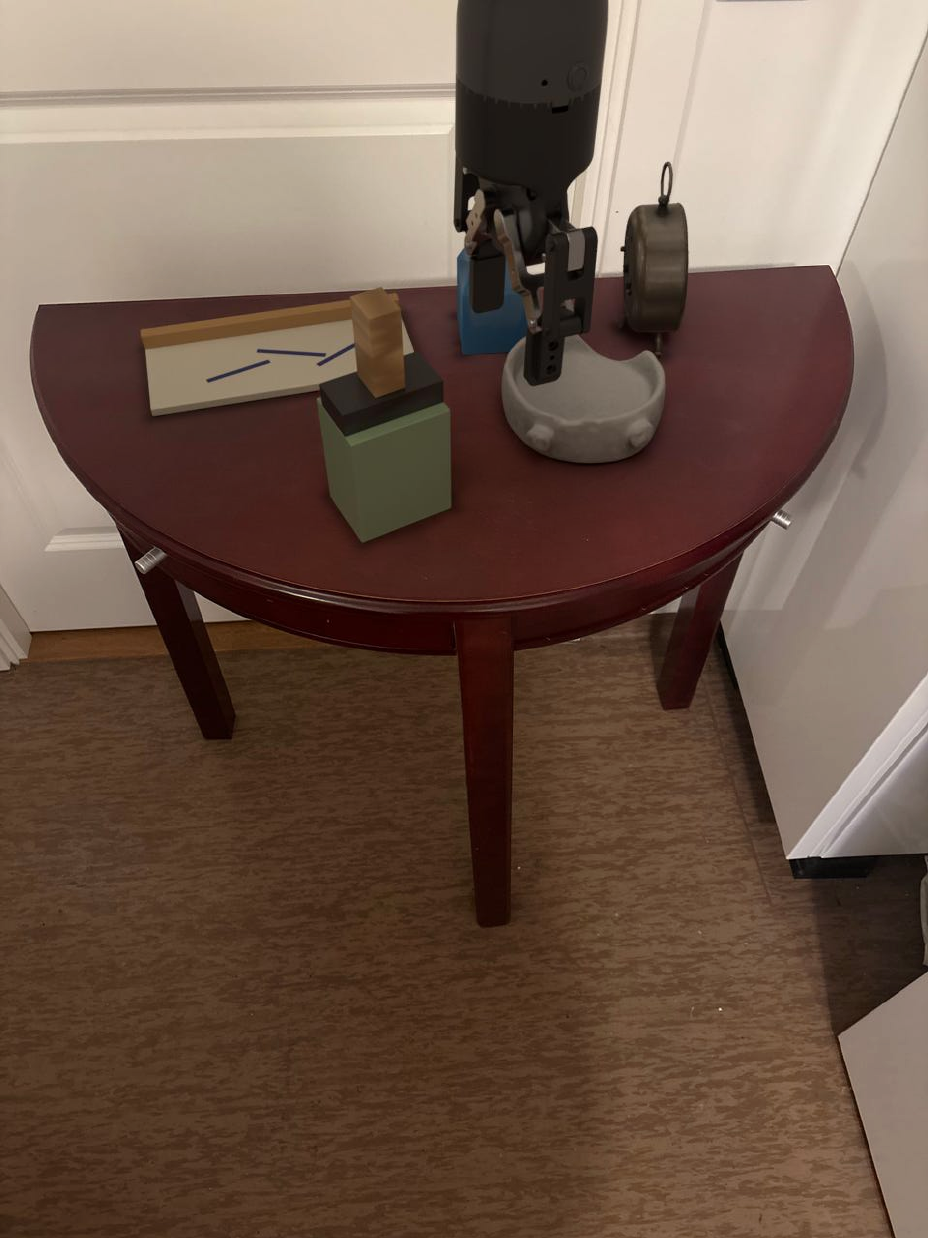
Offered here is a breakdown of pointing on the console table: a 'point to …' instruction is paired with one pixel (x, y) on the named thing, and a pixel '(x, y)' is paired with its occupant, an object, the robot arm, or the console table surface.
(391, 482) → the block
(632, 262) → the alarm clock
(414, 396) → the eraser
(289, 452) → the console table surface
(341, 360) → the board
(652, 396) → the dish
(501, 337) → the perfume bottle
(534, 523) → the console table surface
